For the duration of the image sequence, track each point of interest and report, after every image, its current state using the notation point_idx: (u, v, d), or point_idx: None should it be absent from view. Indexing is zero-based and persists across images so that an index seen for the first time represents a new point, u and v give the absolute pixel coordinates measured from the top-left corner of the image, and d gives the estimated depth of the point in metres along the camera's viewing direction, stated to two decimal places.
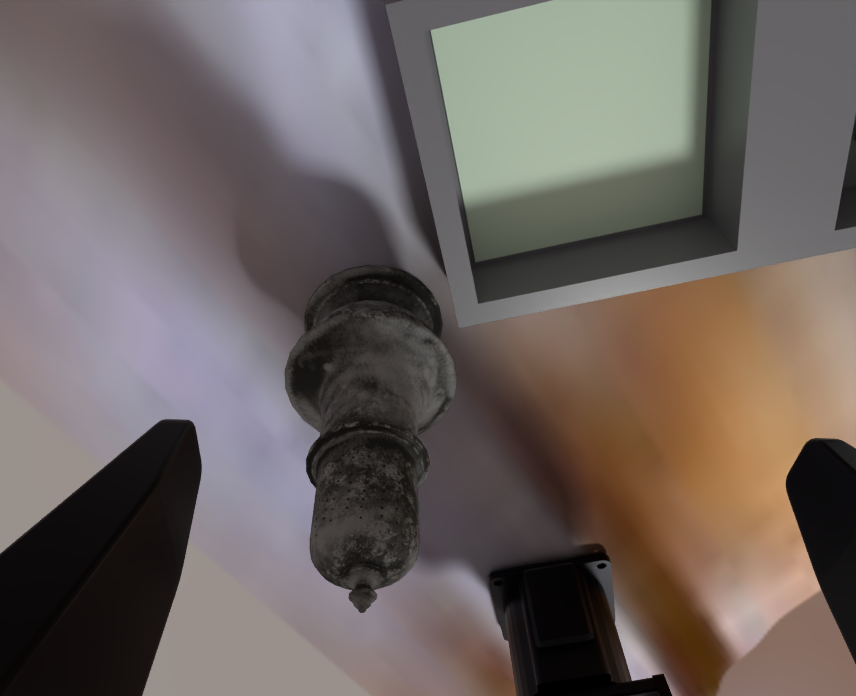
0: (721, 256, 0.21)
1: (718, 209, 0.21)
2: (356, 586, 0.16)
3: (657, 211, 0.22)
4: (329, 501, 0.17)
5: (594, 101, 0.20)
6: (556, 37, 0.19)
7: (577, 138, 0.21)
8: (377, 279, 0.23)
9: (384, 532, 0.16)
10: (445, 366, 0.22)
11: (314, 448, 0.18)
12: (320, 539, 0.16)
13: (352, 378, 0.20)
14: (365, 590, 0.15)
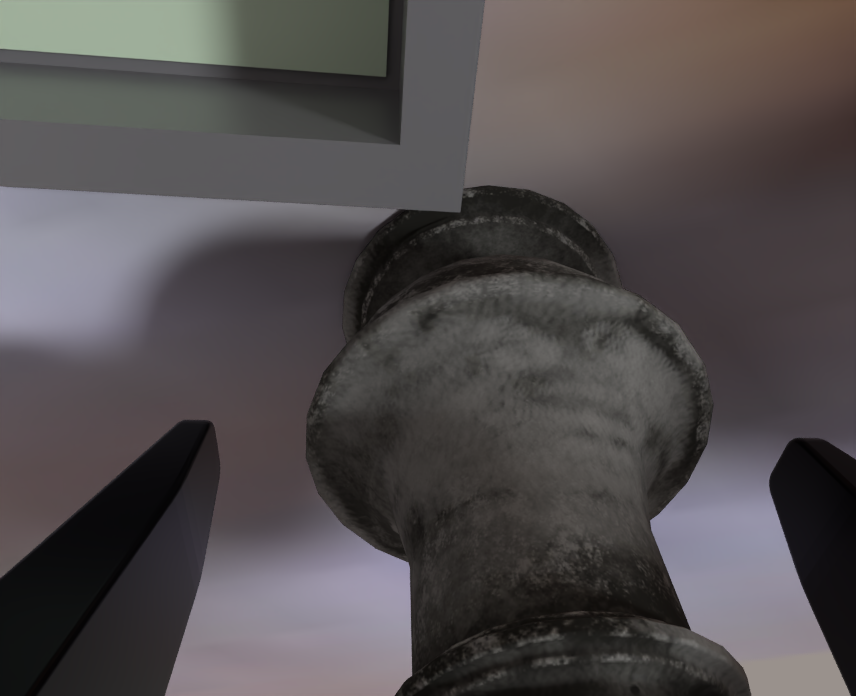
0: None
1: None
2: None
3: None
4: None
5: None
6: None
7: None
8: (368, 289, 0.11)
9: None
10: (523, 301, 0.08)
11: None
12: None
13: (403, 540, 0.08)
14: None
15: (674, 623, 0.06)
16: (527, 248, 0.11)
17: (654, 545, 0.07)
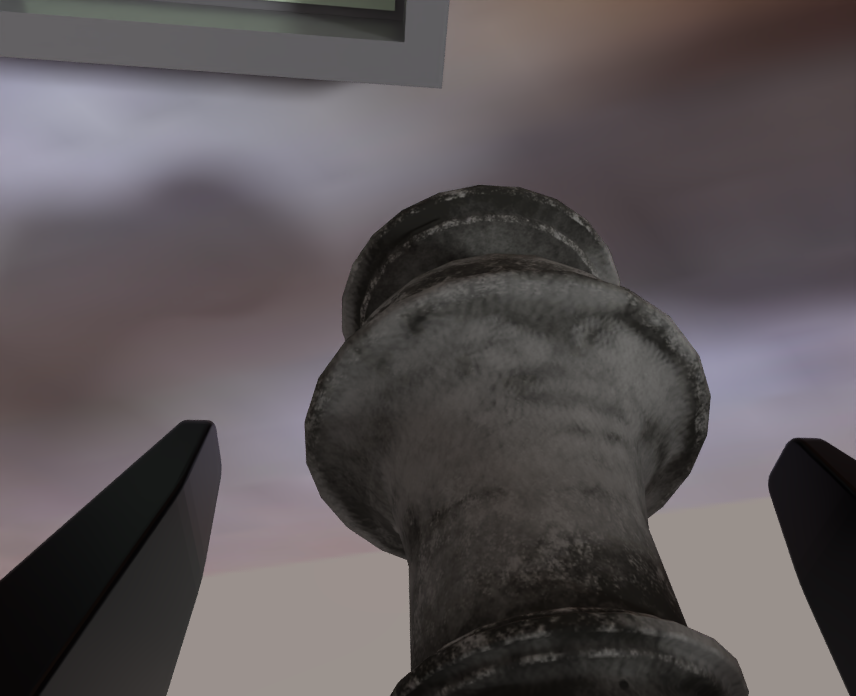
0: None
1: None
2: None
3: None
4: None
5: None
6: None
7: None
8: (365, 293, 0.11)
9: None
10: (511, 299, 0.08)
11: None
12: None
13: (402, 541, 0.08)
14: None
15: (666, 617, 0.06)
16: (521, 245, 0.11)
17: (649, 539, 0.07)
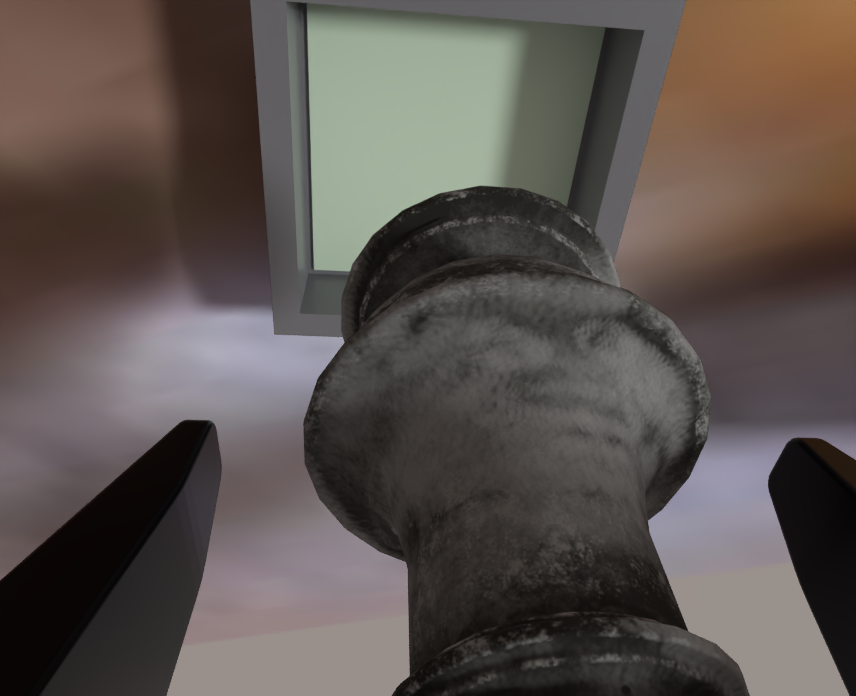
0: (643, 51, 0.16)
1: None
2: None
3: (578, 77, 0.18)
4: None
5: (423, 138, 0.19)
6: (352, 167, 0.19)
7: (457, 159, 0.19)
8: (365, 292, 0.11)
9: None
10: (513, 301, 0.08)
11: None
12: None
13: (401, 543, 0.08)
14: None
15: (668, 621, 0.06)
16: (522, 247, 0.11)
17: (650, 543, 0.07)
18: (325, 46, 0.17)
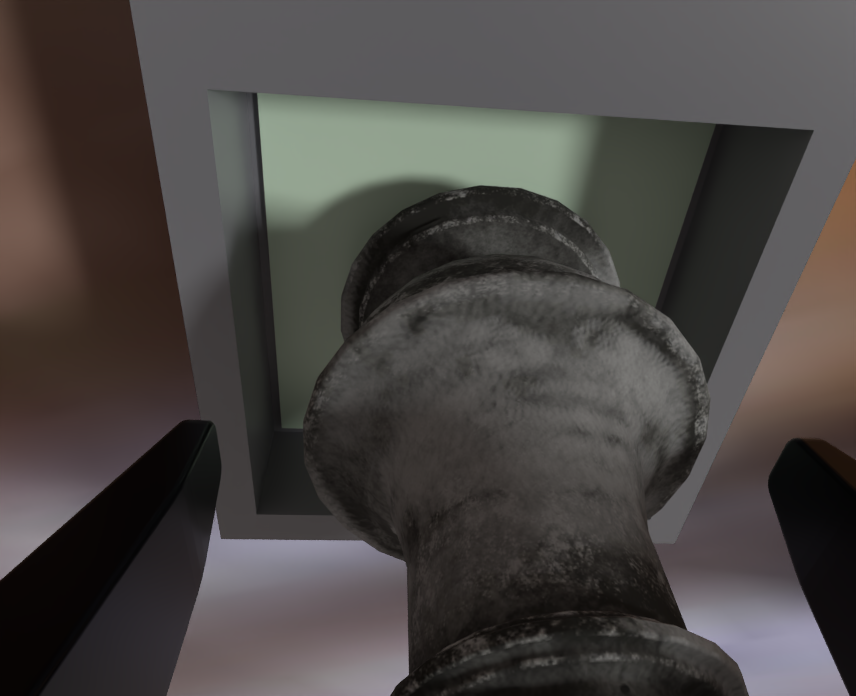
0: (806, 161, 0.09)
1: None
2: None
3: (673, 177, 0.12)
4: None
5: None
6: (332, 301, 0.13)
7: None
8: (365, 292, 0.11)
9: None
10: (512, 300, 0.08)
11: None
12: None
13: (400, 542, 0.08)
14: None
15: (667, 620, 0.06)
16: (522, 247, 0.11)
17: (649, 542, 0.07)
18: (288, 137, 0.11)
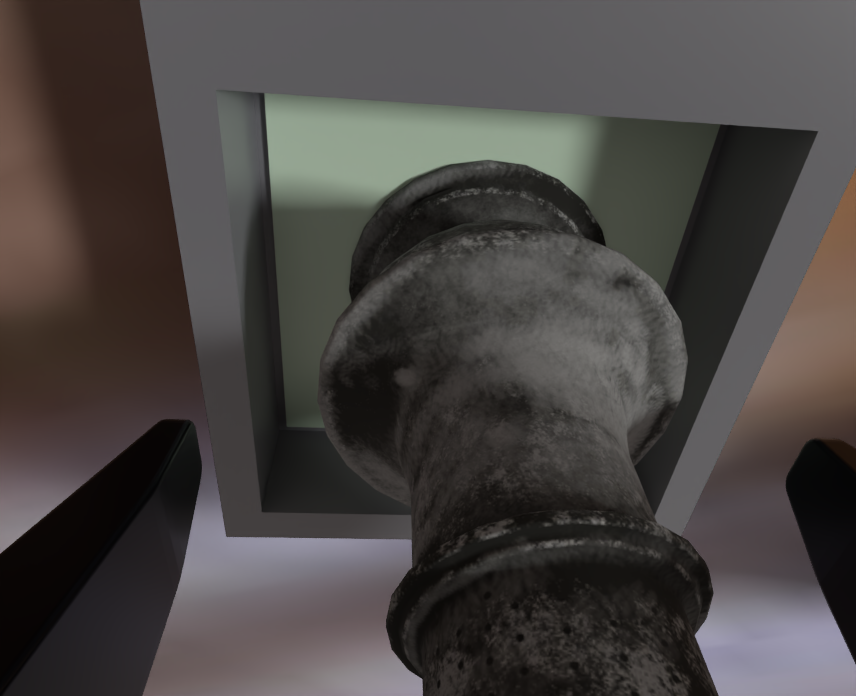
0: (811, 162, 0.09)
1: None
2: None
3: (677, 178, 0.12)
4: None
5: None
6: (338, 300, 0.13)
7: None
8: (475, 186, 0.12)
9: None
10: (664, 334, 0.10)
11: (401, 600, 0.07)
12: None
13: (465, 395, 0.08)
14: None
15: None
16: None
17: None
18: (295, 137, 0.11)
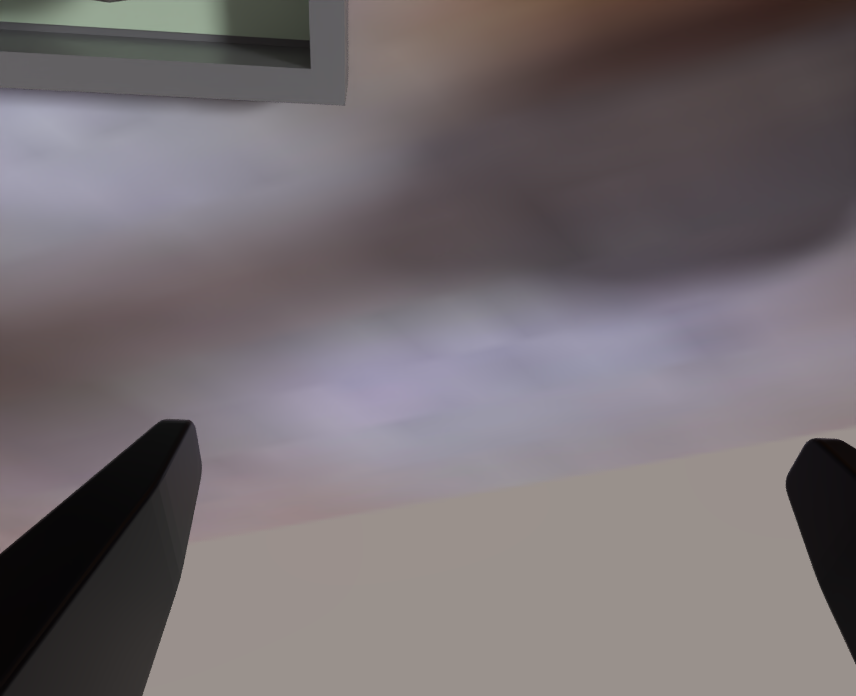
0: None
1: None
2: None
3: None
4: None
5: None
6: None
7: None
8: None
9: None
10: None
11: None
12: None
13: None
14: None
15: None
16: None
17: None
18: None
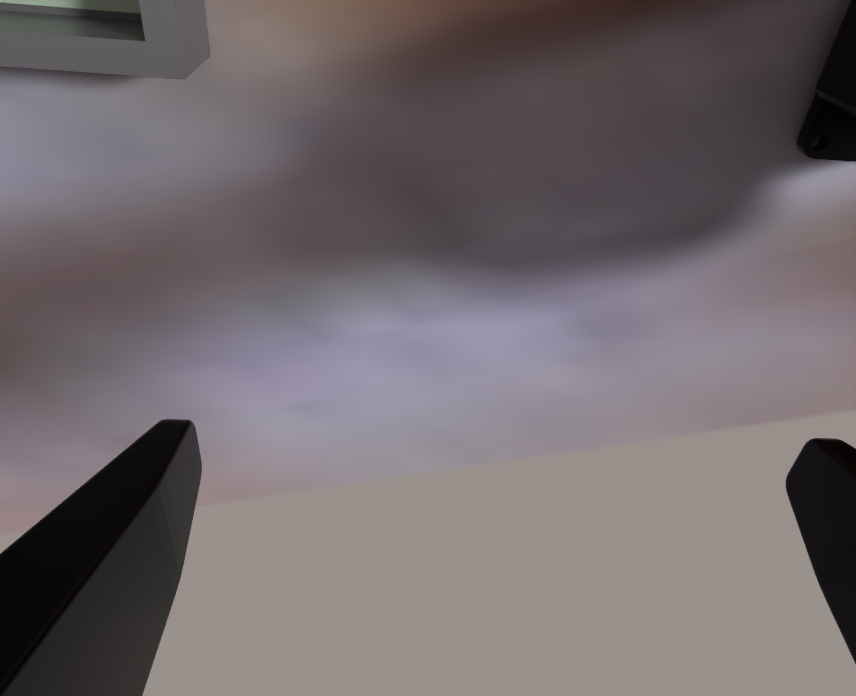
0: None
1: None
2: None
3: None
4: None
5: None
6: None
7: None
8: None
9: None
10: None
11: None
12: None
13: None
14: None
15: None
16: None
17: None
18: None
